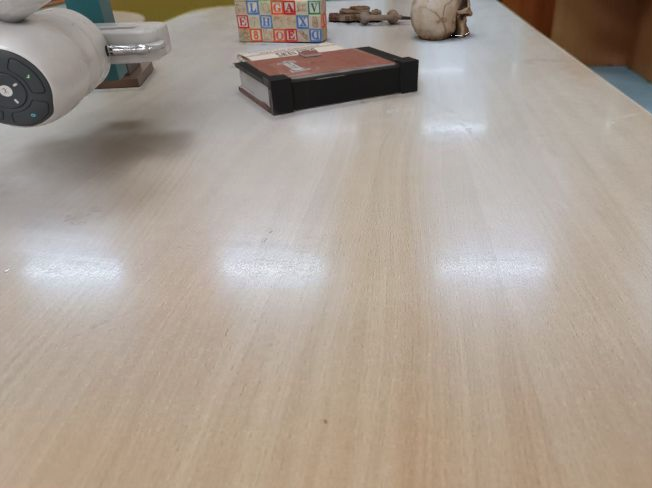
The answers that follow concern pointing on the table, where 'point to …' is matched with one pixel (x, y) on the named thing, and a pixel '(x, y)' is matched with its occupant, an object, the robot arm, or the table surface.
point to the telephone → (366, 15)
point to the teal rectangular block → (98, 9)
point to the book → (326, 78)
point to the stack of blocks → (281, 20)
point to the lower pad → (130, 76)
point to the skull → (440, 18)
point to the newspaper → (286, 51)
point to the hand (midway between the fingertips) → (98, 32)
